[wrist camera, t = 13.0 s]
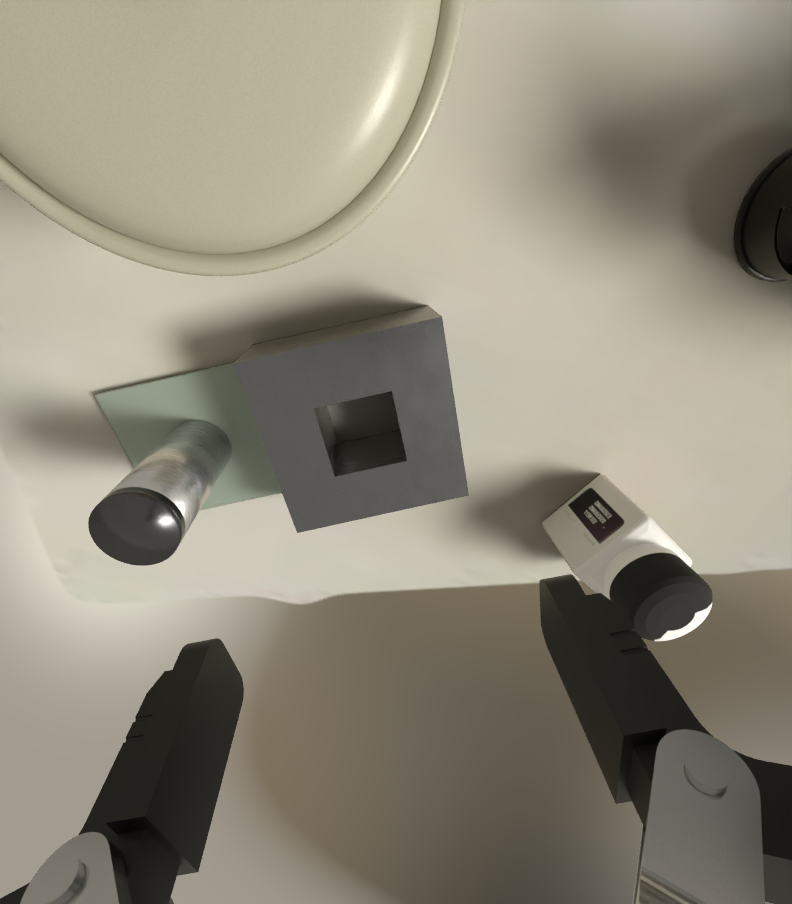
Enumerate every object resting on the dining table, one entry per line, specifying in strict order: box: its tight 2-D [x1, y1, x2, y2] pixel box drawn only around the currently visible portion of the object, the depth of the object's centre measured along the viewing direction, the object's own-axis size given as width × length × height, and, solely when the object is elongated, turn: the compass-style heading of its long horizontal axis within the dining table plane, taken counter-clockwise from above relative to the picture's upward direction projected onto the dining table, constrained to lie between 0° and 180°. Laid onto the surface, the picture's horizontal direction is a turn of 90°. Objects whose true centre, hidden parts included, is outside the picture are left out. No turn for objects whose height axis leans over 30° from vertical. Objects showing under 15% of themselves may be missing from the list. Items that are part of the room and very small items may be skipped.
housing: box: [233, 305, 469, 533], centre depth 34 cm, size 14×14×6 cm
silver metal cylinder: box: [89, 419, 232, 565], centre depth 31 cm, size 5×5×12 cm
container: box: [542, 475, 712, 641], centre depth 38 cm, size 8×8×13 cm
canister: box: [0, 0, 465, 276], centre depth 18 cm, size 18×18×21 cm
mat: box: [95, 363, 282, 511], centre depth 36 cm, size 12×12×1 cm
